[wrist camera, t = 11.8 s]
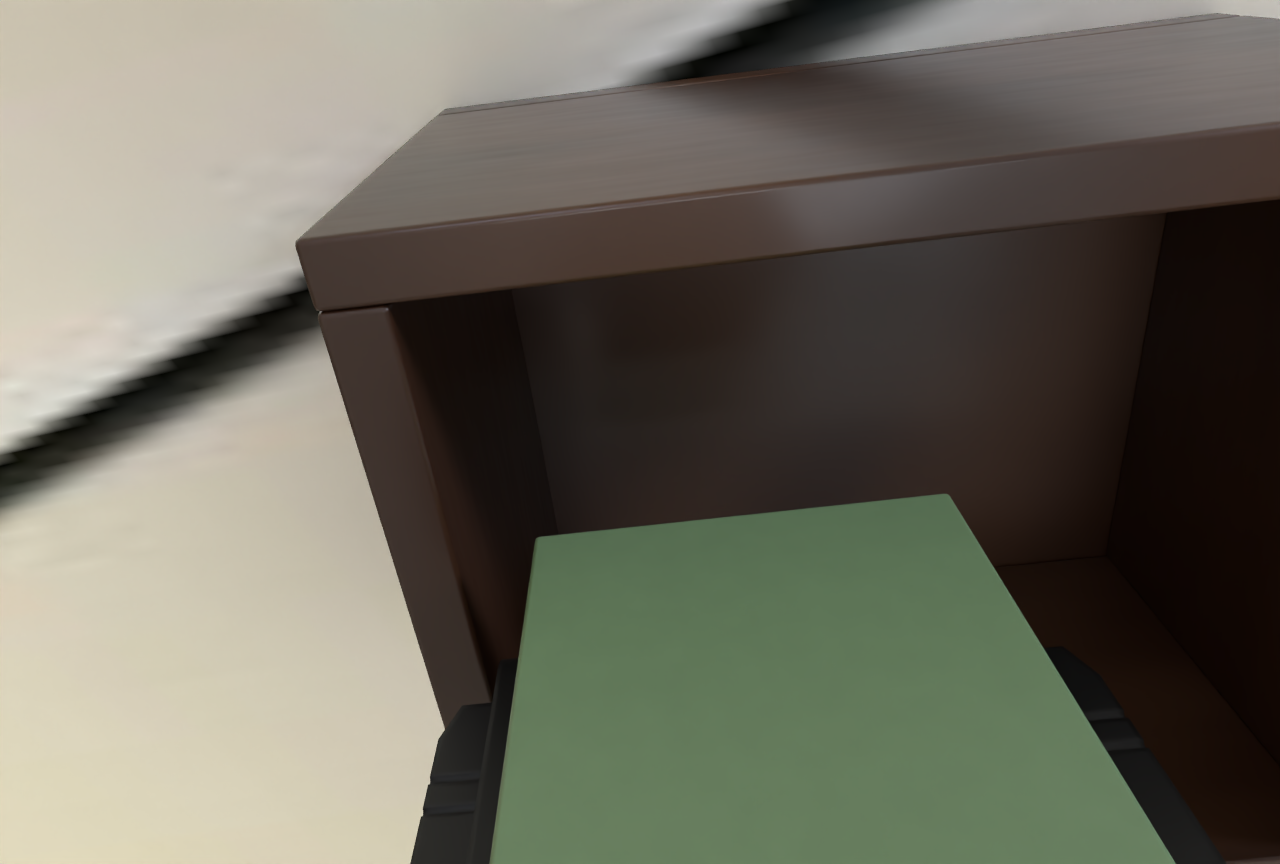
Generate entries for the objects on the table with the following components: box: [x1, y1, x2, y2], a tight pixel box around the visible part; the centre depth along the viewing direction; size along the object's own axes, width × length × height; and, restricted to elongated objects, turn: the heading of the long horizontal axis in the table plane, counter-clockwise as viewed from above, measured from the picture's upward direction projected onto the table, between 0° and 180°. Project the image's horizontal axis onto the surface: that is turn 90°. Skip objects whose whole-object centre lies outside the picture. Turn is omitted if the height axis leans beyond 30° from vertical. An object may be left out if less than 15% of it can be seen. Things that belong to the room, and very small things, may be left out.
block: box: [489, 494, 1176, 864], centre depth 9 cm, size 5×5×5 cm
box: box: [295, 13, 1280, 864], centre depth 16 cm, size 15×13×9 cm
